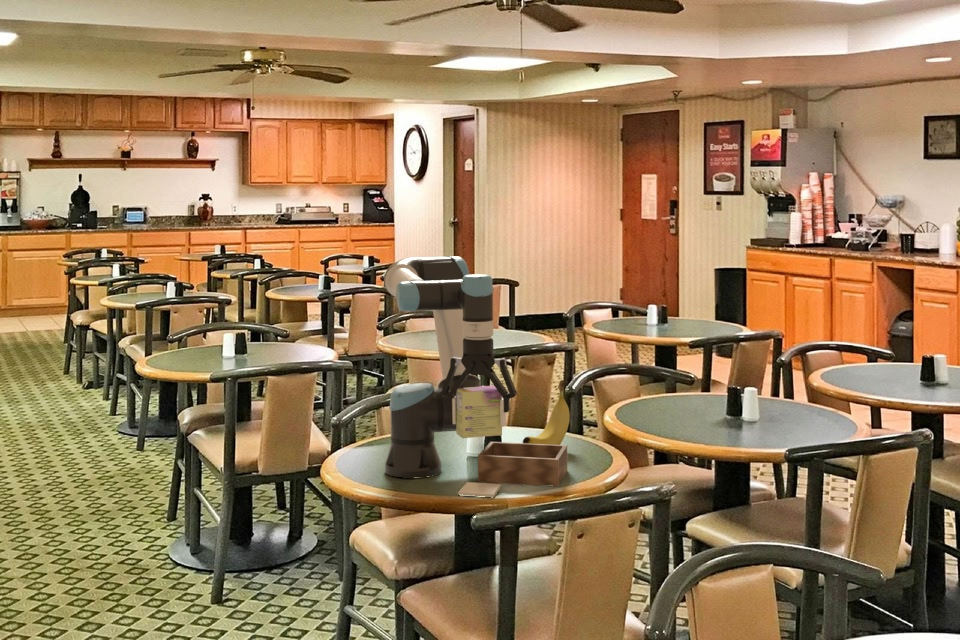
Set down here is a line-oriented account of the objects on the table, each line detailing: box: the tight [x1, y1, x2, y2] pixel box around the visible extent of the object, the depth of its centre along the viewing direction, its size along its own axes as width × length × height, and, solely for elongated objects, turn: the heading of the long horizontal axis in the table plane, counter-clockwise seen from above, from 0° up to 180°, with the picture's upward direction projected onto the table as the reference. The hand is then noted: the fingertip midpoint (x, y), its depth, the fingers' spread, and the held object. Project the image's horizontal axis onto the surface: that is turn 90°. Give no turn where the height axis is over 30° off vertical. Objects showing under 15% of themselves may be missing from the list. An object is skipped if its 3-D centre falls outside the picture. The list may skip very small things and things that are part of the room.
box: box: [455, 385, 503, 439], centre depth 267 cm, size 10×6×12 cm, turn 108°
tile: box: [457, 481, 502, 498], centre depth 269 cm, size 9×9×1 cm
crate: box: [477, 441, 568, 487], centre depth 283 cm, size 21×15×7 cm
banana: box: [522, 379, 570, 445], centre depth 303 cm, size 23×6×20 cm, turn 146°
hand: (479, 424), depth 267 cm, fingers closed on box, 11 cm apart
